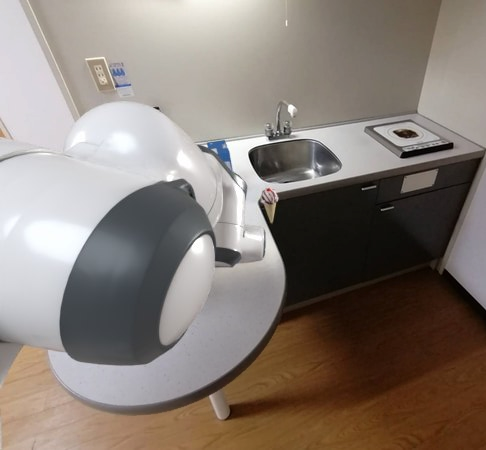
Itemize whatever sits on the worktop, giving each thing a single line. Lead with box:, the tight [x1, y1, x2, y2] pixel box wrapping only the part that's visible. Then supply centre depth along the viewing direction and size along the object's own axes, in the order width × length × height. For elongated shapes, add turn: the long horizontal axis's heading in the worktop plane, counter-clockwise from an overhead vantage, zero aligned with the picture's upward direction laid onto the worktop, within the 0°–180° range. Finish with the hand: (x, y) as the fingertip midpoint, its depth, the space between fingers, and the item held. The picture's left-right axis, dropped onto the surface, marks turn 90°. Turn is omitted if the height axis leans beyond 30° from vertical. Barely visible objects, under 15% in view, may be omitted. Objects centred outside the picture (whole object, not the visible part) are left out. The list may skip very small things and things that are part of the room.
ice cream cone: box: [259, 187, 279, 226], centre depth 98 cm, size 6×6×15 cm
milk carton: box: [206, 139, 234, 172], centre depth 109 cm, size 10×6×20 cm, turn 20°
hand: (129, 244), depth 67 cm, fingers closed on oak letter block, 5 cm apart
